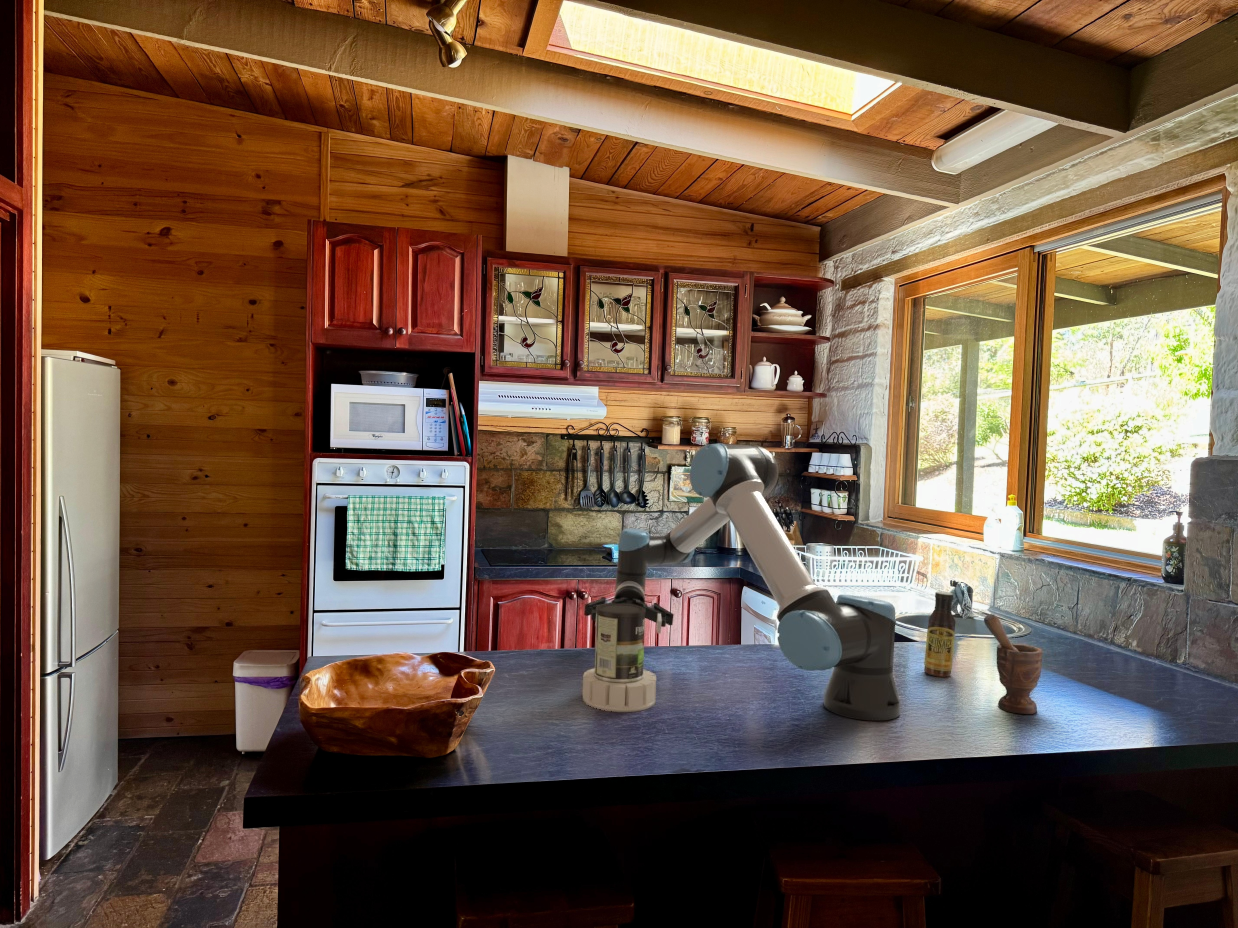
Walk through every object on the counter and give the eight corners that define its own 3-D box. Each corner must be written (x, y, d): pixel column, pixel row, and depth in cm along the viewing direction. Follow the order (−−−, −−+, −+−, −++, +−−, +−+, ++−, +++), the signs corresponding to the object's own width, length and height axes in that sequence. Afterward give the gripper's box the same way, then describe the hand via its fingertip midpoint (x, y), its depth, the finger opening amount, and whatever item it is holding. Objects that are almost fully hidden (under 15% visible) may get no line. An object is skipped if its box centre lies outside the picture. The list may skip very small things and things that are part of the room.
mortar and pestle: (1006, 719, 166) (1011, 621, 165) (973, 705, 174) (978, 612, 173) (1048, 713, 170) (1053, 618, 170) (1014, 701, 178) (1019, 609, 178)
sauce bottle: (923, 675, 196) (927, 593, 195) (924, 669, 202) (927, 589, 201) (953, 679, 193) (957, 595, 193) (952, 672, 199) (956, 591, 199)
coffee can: (647, 671, 173) (649, 605, 173) (638, 685, 163) (641, 614, 163) (599, 666, 176) (602, 601, 175) (588, 680, 165) (590, 611, 165)
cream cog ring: (656, 690, 176) (656, 667, 176) (654, 713, 161) (655, 688, 161) (586, 687, 177) (587, 664, 177) (578, 709, 162) (579, 684, 162)
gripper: (678, 620, 200) (683, 646, 179) (577, 609, 200) (569, 634, 179) (682, 590, 199) (687, 613, 178) (580, 579, 200) (573, 600, 178)
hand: (628, 623), depth 178 cm, fingers open, 13 cm apart
